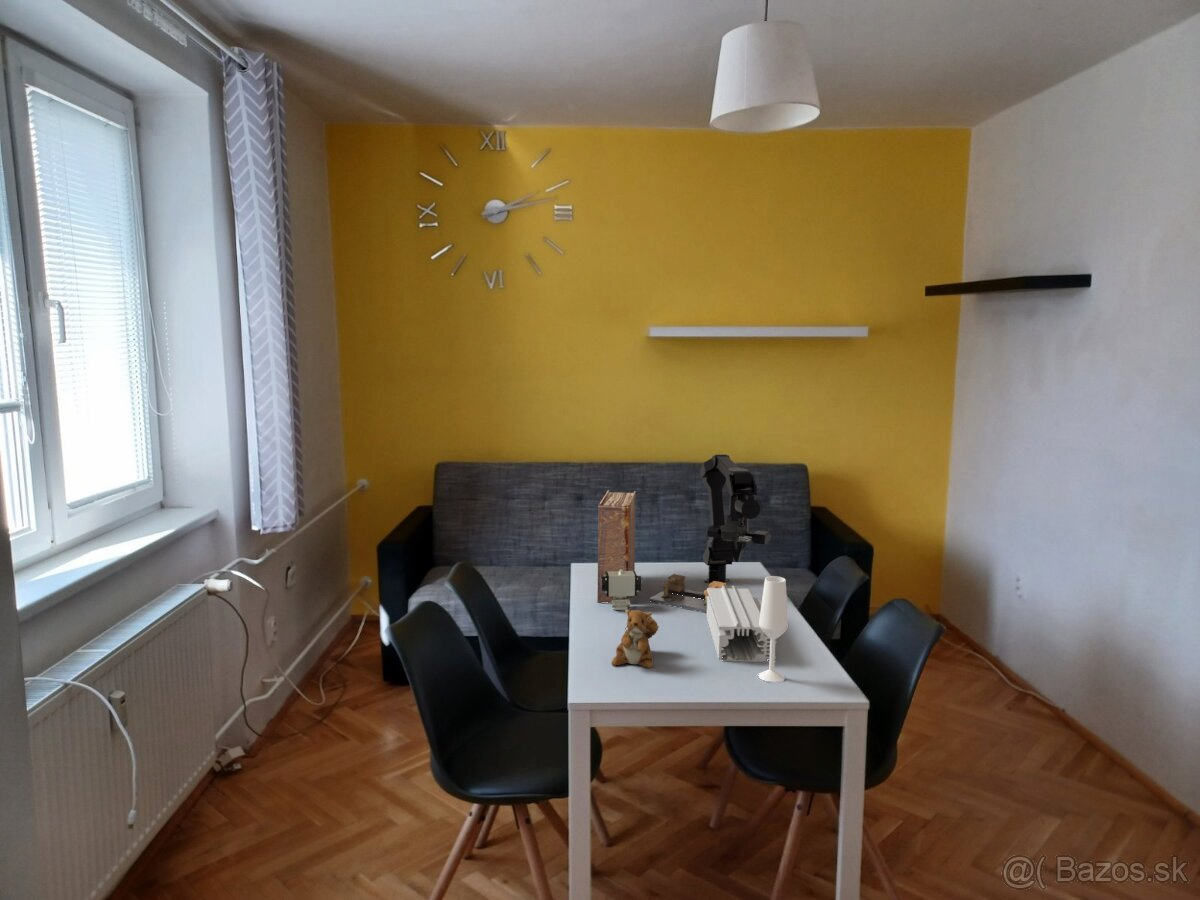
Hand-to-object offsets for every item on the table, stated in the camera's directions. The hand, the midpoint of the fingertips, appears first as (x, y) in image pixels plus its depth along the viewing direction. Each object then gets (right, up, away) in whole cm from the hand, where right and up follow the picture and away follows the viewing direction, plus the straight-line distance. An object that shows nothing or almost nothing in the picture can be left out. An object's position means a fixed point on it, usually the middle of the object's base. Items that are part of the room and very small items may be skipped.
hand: (737, 561), depth 241 cm
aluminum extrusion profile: (-5, -17, -30) cm, 34 cm away
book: (-36, -11, +9) cm, 39 cm away
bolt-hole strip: (-14, -13, -4) cm, 19 cm away
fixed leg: (-20, -10, +4) cm, 22 cm away
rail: (-8, -12, +1) cm, 15 cm away
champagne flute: (-1, -20, -54) cm, 58 cm away
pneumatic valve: (-36, -13, -7) cm, 39 cm away
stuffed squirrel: (-33, -18, -44) cm, 58 cm away
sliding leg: (-8, -11, -3) cm, 14 cm away
